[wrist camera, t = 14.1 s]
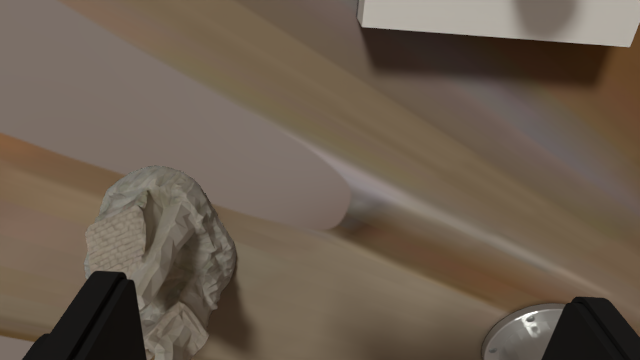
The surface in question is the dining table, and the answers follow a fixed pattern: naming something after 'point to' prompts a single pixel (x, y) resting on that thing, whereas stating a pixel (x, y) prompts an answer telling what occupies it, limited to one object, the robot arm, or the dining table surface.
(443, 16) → the bore block
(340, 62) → the dining table surface
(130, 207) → the grey rough lump
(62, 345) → the robot arm
